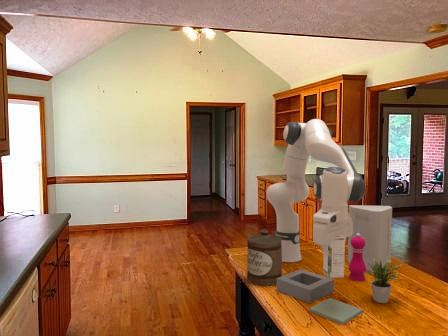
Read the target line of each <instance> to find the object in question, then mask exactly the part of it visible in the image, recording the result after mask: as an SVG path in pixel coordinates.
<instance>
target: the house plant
mask: <svg viewBox="0 0 448 336" xmlns="http://www.w3.org/2000/svg"><path fill="white" fill-rule="evenodd" d="M373 261H374V265H373V266H372V265H371V264H370V263H368V262H367V261H366V262H367V263H368V264H369V265H370V267H371V268H372V269H373V271H374V272H371V271H366V272H364V274H367V275H370V276H372V277H373V278H374V280H373V281H371V282H370V284H371V291H372V297H373V298H372V299H373V301H374V302H377V303H380V304H387V303H388V302H389V300H390V294H391V290H392V286H393V285H392V284H391V283H389V282H391V281H392V280H394V281H395V282H398V280H397V279H396V278H397V277H398V276H397V275H399V274H400V273H399V272H397V273H393V271H394V270H400V269H402V268H401V266H402V264H398V265H394V266H393V267H391V262H392V261H393V259H391V260H390V261H389V258H388V260H387V261H386V263H385V265H384V267H383V269H382V263H381V260H380V257H379V263H380V265H379V264H378V263H377V261H376V260H375V258H373ZM388 261H389V262H388ZM374 266H375V267H374ZM373 267H374V268H373Z"/></svg>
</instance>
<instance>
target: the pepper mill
mask: <svg viewBox="0 0 448 336" xmlns="http://www.w3.org/2000/svg"><path fill="white" fill-rule="evenodd" d="M351 245H352V246H353V247H352V251H353V257H352V260H351V262H350V264H349V263H348V271H349V279H350V280H352V281H357V282H363V281H365V279H366V275H365V273H364V272H367V270H366V265H365V263H364V261H363V252H364V248H363V247H364V246H365V240H364V239H363V238H362V237H360V234H359V233H357V234H356V237H353V238H352V239H351Z"/></svg>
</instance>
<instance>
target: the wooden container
mask: <svg viewBox="0 0 448 336" xmlns="http://www.w3.org/2000/svg"><path fill="white" fill-rule="evenodd" d="M259 232H260V233H259V234H253V235H249V236H248V237H247V241H246V242H247V244H246V245H247V259H246V260H247V261H246V263H247V264H246V265H247V266H246V267H247V268H246V270H247V273H246V275H247V278H246V279H247V282H249V283H251V284H254V285H255V286H261V287H263V286H264V287H266V286H267V287H268V286H269V287H270V286H277V278H279V277H282V276H283V262H282V248H281V245H282V241H281V238H280V237H278V236H275V235H274V234H269V230H268V229H266V228H262V229H261V230H260V231H259Z"/></svg>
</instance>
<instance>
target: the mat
mask: <svg viewBox="0 0 448 336" xmlns="http://www.w3.org/2000/svg"><path fill="white" fill-rule="evenodd" d="M308 310H309V312H310V313H312V314H315V315H318V316H319V317H320V316H321V317H323V318H325V319H328V320H329V321H333V322H335V323H338V324H340V325H342V326H343V325H344V324H346V323H348V322H349V321H351V320H353V319H355V318H356V317H359V315H361V314H362V313H363V311H364V310H363V308H362V309H361V308H359V307H356V306H354V305H351V304H347V303H344V302H342V301H339V300H336V299H334V298H331V297H329V298H327V299H325V300H323V301H321V302H320V303H318V304H315V305H314V306H311V307H310V308H309V309H308Z"/></svg>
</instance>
